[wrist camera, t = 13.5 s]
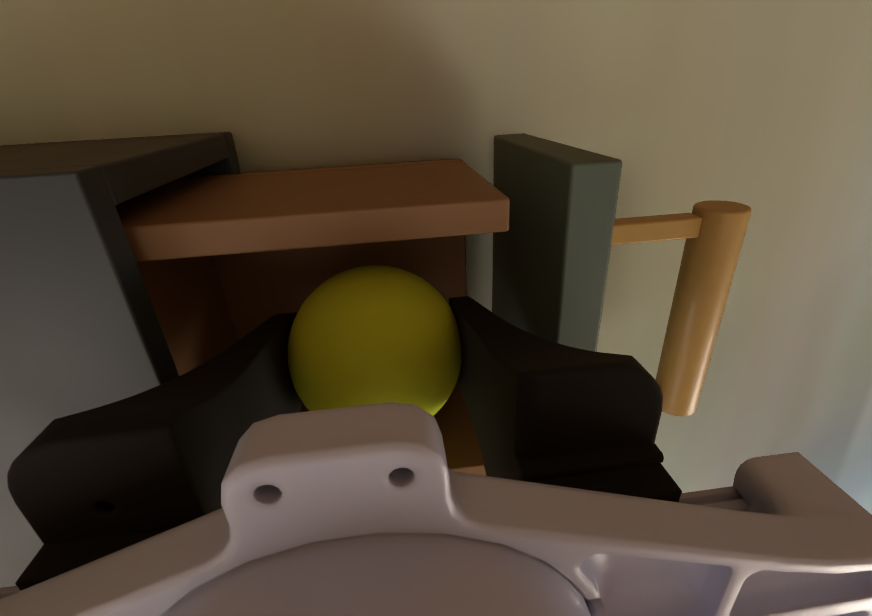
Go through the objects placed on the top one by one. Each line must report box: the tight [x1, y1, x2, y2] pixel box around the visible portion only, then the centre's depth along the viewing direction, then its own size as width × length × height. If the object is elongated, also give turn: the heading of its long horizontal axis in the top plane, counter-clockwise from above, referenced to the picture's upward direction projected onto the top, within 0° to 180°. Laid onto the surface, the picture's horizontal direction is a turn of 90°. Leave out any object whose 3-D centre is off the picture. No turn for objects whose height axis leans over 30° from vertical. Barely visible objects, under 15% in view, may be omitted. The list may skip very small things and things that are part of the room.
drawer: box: [115, 133, 751, 476], centre depth 15 cm, size 17×10×7 cm, turn 93°
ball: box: [288, 265, 462, 416], centre depth 13 cm, size 5×5×5 cm
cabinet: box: [0, 132, 241, 588], centre depth 14 cm, size 14×12×9 cm
